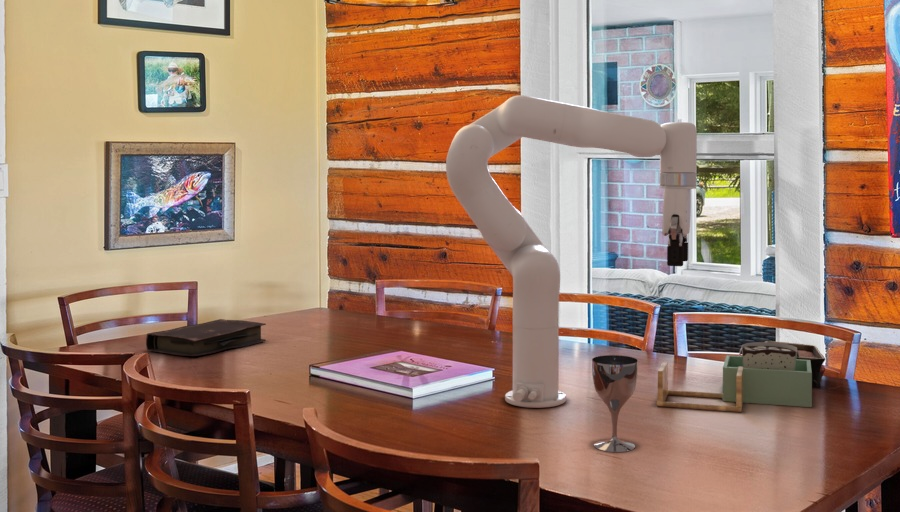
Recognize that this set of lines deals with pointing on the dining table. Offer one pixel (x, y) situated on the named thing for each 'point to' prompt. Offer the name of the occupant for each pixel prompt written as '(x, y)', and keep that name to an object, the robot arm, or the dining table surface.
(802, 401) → the tub
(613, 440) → the wine glass
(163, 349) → the diary
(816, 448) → the dining table surface
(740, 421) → the dining table surface
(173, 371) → the dining table surface
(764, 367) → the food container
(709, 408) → the drying rack
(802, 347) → the dark brown tapered box
